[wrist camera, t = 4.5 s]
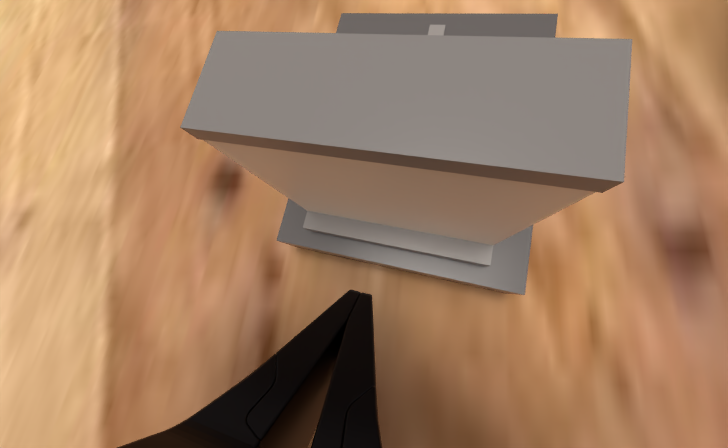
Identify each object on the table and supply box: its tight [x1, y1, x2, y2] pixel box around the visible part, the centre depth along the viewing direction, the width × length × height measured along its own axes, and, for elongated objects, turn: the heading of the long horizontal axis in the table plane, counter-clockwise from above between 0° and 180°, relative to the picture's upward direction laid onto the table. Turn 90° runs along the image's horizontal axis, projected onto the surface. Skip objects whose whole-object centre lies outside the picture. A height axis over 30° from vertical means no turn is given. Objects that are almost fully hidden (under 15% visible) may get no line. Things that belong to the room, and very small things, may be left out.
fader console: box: [277, 13, 558, 295], centre depth 18 cm, size 17×14×3 cm
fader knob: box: [180, 31, 632, 267], centre depth 11 cm, size 5×10×9 cm, turn 76°
